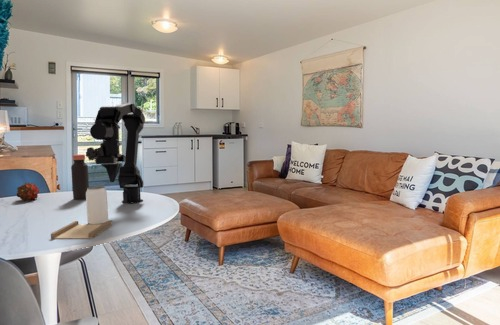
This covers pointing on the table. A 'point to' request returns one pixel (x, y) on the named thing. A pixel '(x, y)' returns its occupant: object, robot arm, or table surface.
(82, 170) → the bottle
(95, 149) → the robot arm
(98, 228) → the wooden tray
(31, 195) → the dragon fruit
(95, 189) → the can
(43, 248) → the table surface
